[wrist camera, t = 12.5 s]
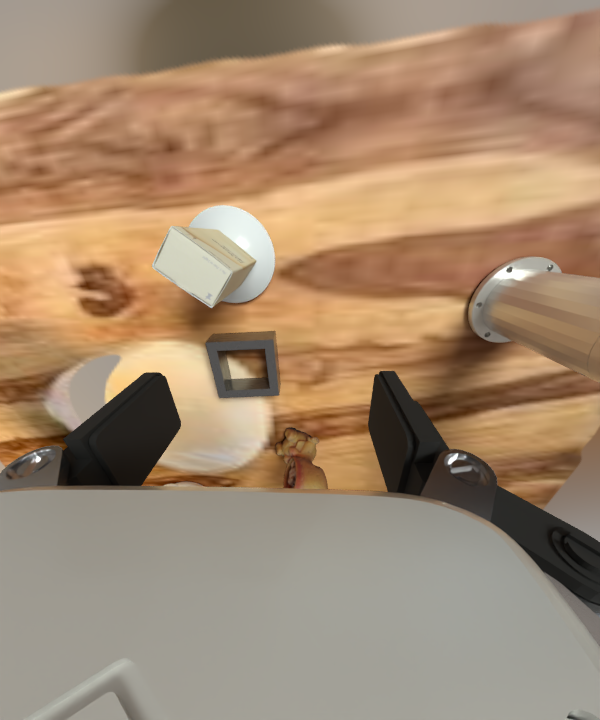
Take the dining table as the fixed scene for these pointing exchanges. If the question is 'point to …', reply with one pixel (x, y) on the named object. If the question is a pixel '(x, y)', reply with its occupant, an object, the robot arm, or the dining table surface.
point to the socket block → (243, 342)
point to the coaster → (243, 246)
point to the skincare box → (203, 263)
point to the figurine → (300, 461)
